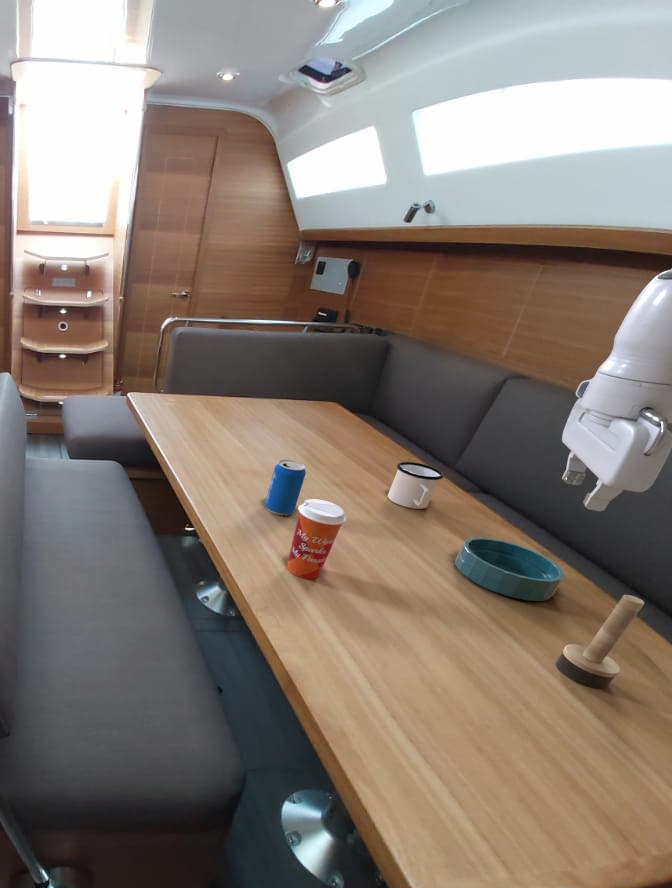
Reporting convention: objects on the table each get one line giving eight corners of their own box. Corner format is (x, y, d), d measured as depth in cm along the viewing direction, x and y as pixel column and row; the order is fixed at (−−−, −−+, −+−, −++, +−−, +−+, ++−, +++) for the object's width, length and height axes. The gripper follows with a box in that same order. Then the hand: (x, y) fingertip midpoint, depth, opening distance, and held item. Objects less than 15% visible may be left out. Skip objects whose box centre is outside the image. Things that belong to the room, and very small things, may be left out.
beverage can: (260, 502, 122) (272, 457, 117) (288, 505, 121) (301, 460, 116) (268, 515, 116) (281, 468, 111) (297, 518, 115) (311, 471, 110)
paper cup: (280, 575, 95) (300, 511, 89) (281, 555, 101) (300, 494, 95) (326, 587, 92) (350, 522, 86) (324, 566, 98) (346, 503, 92)
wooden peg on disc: (594, 666, 76) (647, 592, 70) (618, 694, 72) (677, 618, 65) (546, 655, 78) (594, 582, 72) (567, 682, 73) (620, 606, 67)
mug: (380, 490, 131) (392, 459, 127) (421, 496, 128) (435, 464, 124) (394, 511, 120) (408, 477, 116) (439, 518, 118) (455, 484, 114)
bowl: (528, 568, 100) (540, 547, 98) (567, 612, 88) (582, 589, 86) (443, 551, 105) (453, 531, 102) (469, 591, 92) (481, 569, 90)
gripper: (713, 426, 55) (643, 533, 60) (636, 387, 70) (587, 475, 76) (632, 415, 57) (573, 519, 63) (576, 380, 73) (533, 466, 79)
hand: (580, 494), depth 70 cm, fingers open, 8 cm apart
